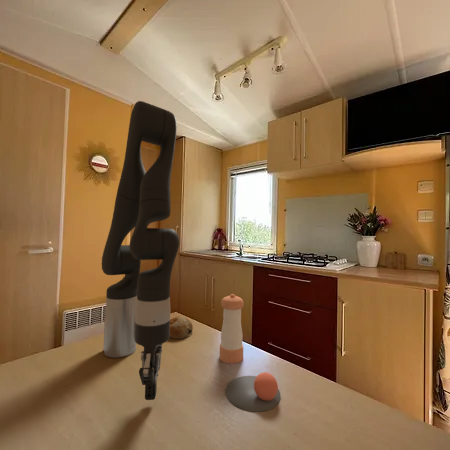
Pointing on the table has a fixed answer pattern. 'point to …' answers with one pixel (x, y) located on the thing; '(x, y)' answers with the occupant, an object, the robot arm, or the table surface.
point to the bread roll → (180, 327)
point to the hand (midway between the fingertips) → (150, 397)
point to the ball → (265, 386)
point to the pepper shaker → (231, 330)
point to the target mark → (248, 395)
